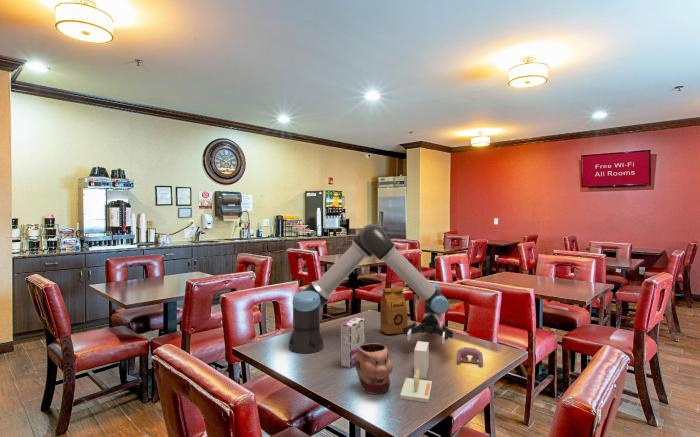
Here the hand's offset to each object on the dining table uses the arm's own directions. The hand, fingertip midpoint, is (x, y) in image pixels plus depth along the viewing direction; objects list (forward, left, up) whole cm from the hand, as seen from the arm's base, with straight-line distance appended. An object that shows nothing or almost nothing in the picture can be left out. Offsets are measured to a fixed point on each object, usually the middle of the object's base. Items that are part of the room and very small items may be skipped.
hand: (425, 338), depth 153 cm
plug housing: (0, -10, -9) cm, 14 cm away
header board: (0, -25, -9) cm, 27 cm away
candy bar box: (-27, -8, -10) cm, 30 cm away
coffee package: (-18, +33, -10) cm, 39 cm away
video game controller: (+17, +4, -10) cm, 20 cm away
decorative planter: (-15, -26, -10) cm, 31 cm away
